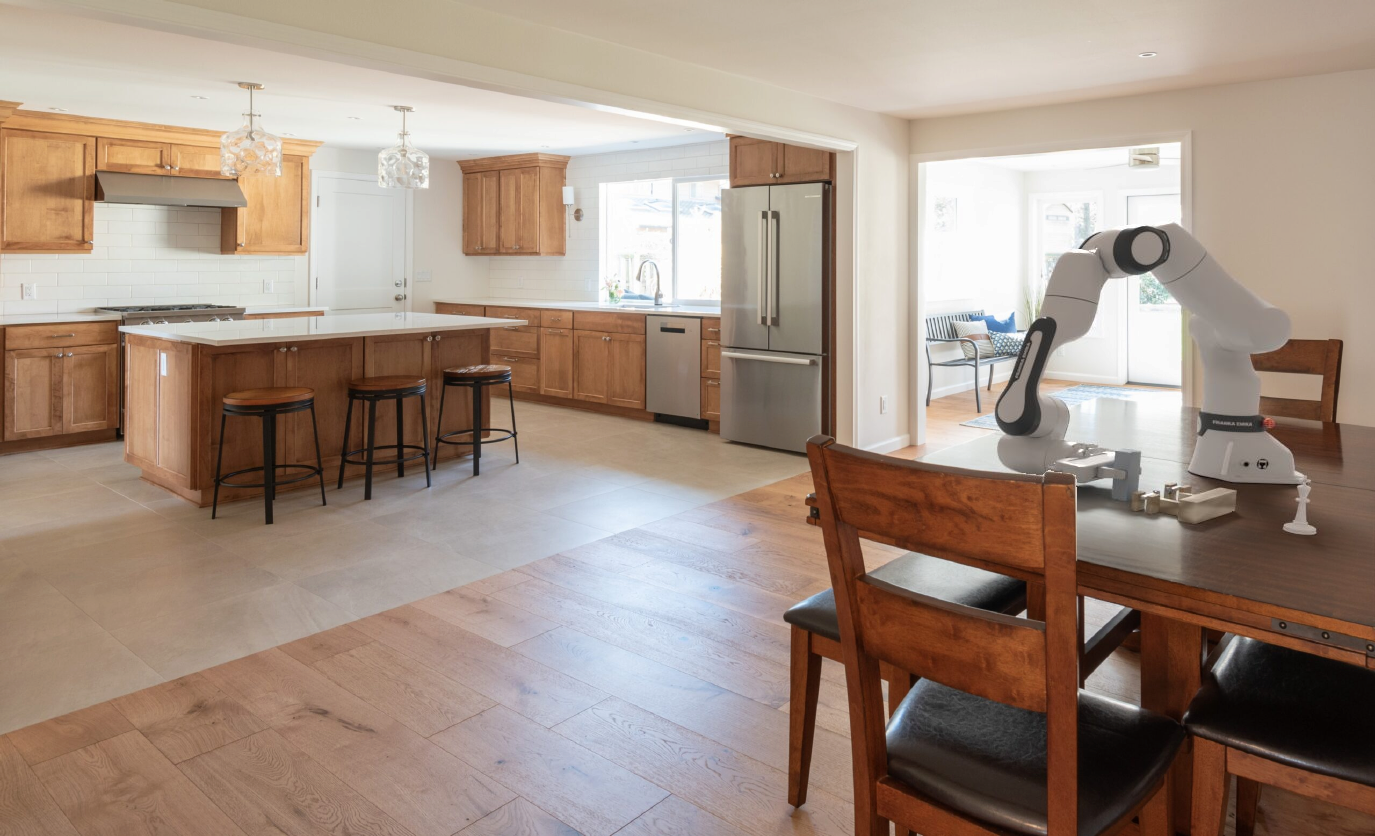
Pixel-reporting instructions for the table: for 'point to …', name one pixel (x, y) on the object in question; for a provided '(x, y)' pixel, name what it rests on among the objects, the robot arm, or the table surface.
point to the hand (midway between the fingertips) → (1132, 473)
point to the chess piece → (1301, 512)
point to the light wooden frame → (1188, 503)
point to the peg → (1131, 463)
